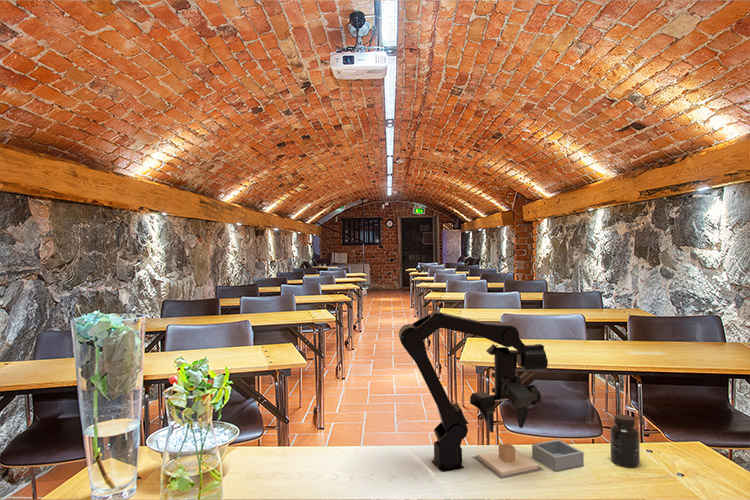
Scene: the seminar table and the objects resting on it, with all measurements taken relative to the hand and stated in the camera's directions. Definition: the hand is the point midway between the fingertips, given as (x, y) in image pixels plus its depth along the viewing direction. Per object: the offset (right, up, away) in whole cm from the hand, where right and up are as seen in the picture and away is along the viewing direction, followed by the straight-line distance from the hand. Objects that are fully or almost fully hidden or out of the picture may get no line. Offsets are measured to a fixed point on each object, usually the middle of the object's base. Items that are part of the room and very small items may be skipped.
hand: (506, 429), depth 122 cm
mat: (0, -9, 0) cm, 9 cm away
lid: (0, -9, 0) cm, 9 cm away
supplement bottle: (+32, -9, +1) cm, 33 cm away
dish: (+14, -9, +1) cm, 16 cm away
